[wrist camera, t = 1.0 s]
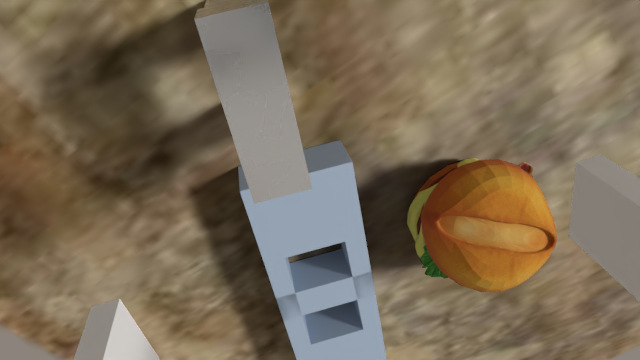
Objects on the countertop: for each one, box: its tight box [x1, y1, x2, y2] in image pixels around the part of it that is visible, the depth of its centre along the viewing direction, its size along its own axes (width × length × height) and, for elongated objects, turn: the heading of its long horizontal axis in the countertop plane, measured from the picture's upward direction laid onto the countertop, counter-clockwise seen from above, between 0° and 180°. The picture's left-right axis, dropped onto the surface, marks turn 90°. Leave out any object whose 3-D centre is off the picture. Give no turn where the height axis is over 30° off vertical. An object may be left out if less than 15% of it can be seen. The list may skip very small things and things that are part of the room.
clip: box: [194, 0, 312, 204], centre depth 24 cm, size 9×3×10 cm, turn 11°
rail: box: [238, 140, 387, 360], centre depth 36 cm, size 22×8×4 cm, turn 11°
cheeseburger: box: [407, 158, 557, 292], centre depth 33 cm, size 10×11×10 cm
